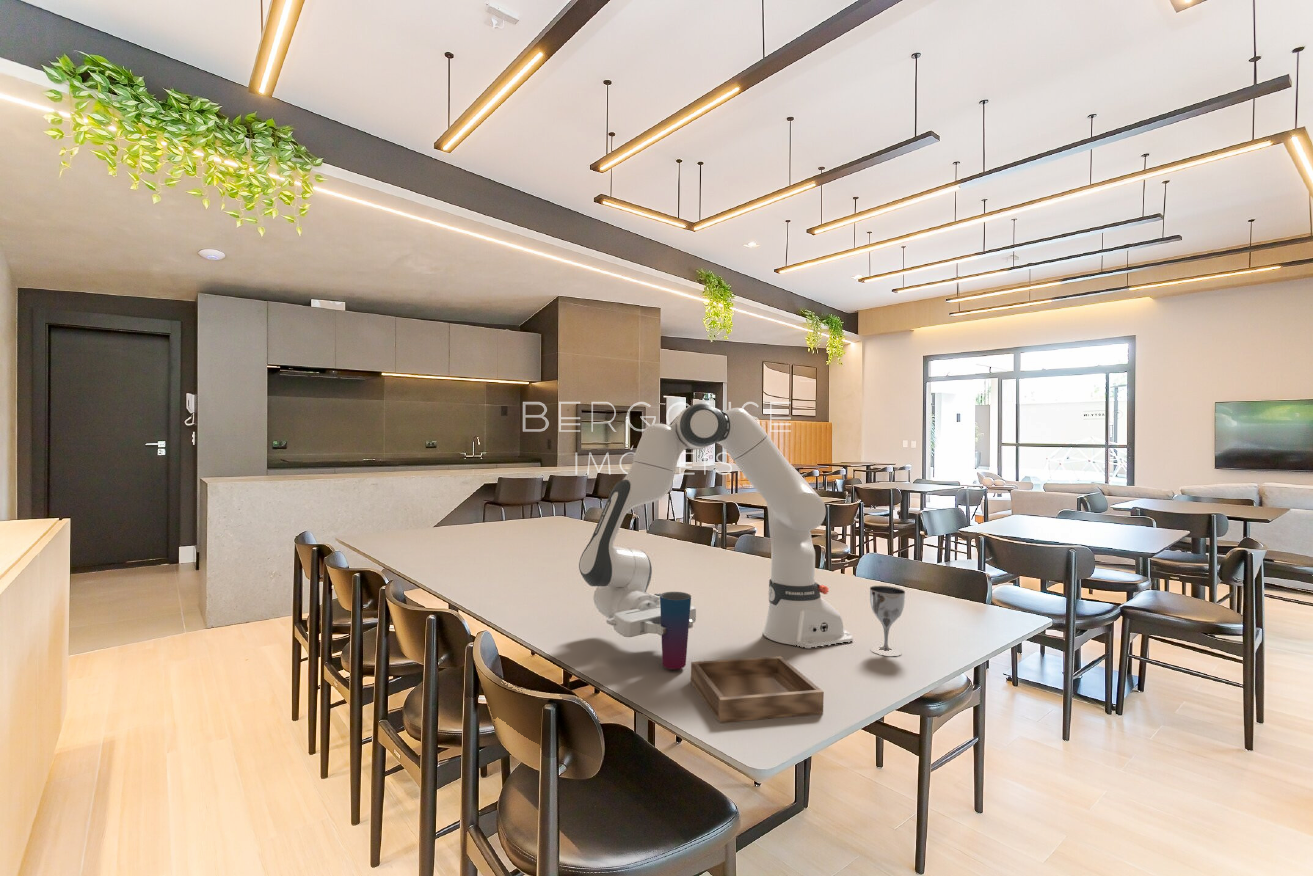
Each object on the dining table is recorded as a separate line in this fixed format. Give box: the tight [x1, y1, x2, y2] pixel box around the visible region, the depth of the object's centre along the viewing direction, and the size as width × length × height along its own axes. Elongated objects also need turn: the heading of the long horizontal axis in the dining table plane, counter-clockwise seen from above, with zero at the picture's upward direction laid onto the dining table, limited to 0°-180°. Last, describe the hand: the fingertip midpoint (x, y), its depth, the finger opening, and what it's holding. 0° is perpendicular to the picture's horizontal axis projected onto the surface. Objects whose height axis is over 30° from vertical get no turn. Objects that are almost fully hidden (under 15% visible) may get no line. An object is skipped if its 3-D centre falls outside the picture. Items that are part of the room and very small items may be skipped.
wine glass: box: [869, 585, 906, 651], centre depth 140 cm, size 8×8×15 cm
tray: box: [690, 656, 825, 724], centre depth 113 cm, size 20×18×4 cm
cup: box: [659, 591, 692, 670], centre depth 126 cm, size 7×7×15 cm
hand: (677, 627), depth 125 cm, fingers closed on cup, 6 cm apart
